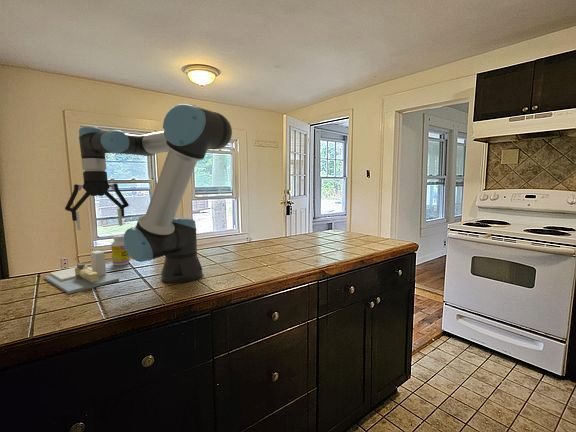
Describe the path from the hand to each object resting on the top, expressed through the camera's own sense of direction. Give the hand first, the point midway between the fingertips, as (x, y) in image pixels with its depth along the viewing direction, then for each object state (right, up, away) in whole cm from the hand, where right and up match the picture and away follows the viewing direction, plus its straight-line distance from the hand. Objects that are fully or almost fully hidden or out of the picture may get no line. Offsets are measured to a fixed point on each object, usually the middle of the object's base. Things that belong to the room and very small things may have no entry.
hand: (100, 227), depth 113 cm
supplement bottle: (-4, -17, +21) cm, 28 cm away
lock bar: (-3, -18, -4) cm, 19 cm away
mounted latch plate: (-8, -20, 0) cm, 21 cm away
